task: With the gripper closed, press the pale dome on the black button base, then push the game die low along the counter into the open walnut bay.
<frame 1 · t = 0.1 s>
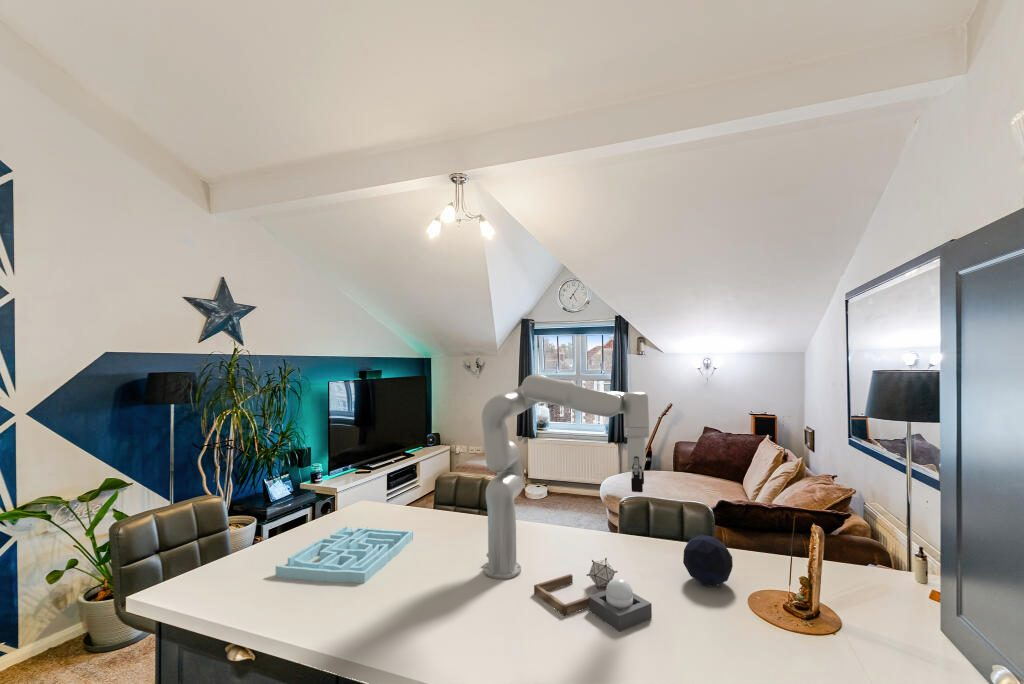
hand: (638, 487, 142), 31 cm above the counter, tool pointing down, fingers open, 9 cm apart
decorative orb: (708, 583, 146), on the counter
walnut bay: (569, 597, 137), on the counter
dome base: (619, 614, 128), on the counter
dome: (619, 592, 128), point 6 cm above the counter, slide at 0.0 cm
maze: (350, 557, 169), on the counter
game die: (602, 587, 144), on the counter
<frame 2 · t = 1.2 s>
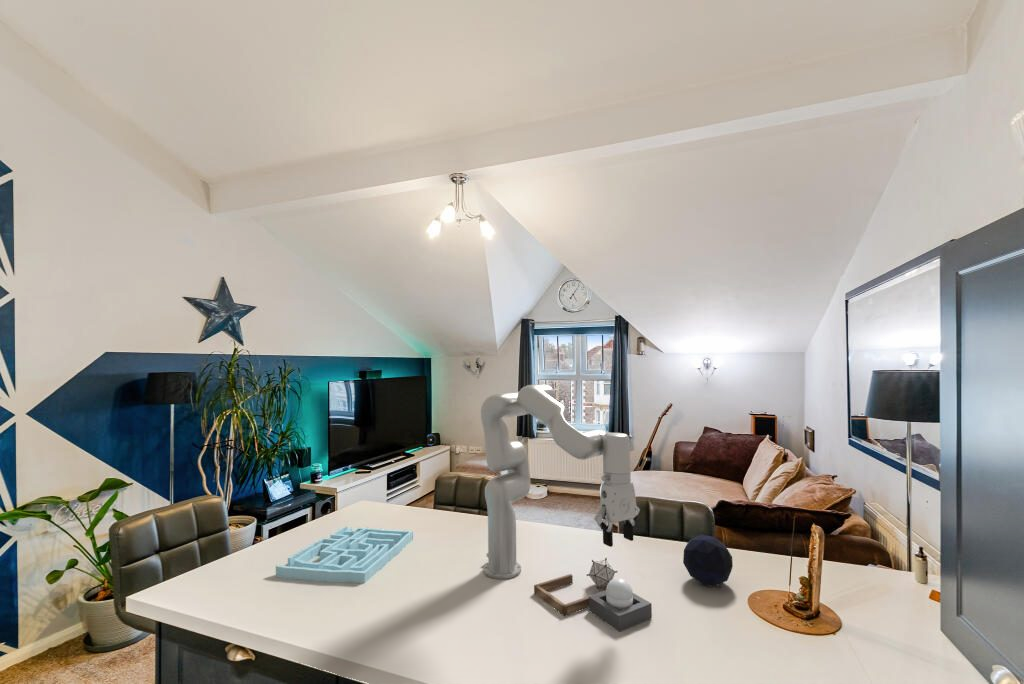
hand: (618, 541, 129), 20 cm above the counter, tool pointing down, fingers open, 7 cm apart
nothing on the counter moved.
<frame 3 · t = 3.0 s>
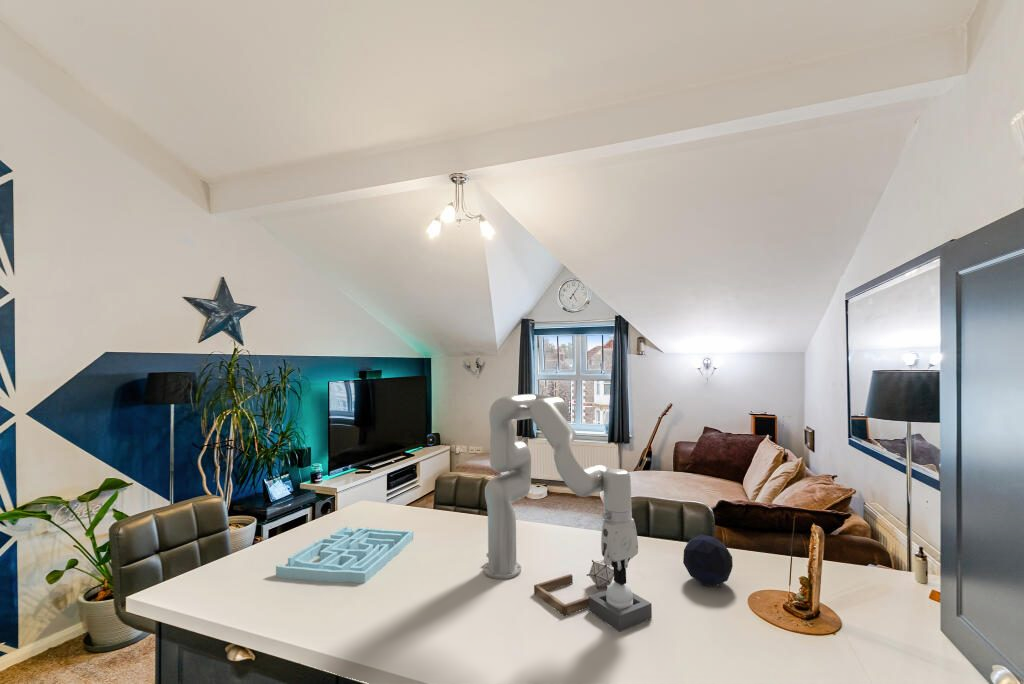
hand: (620, 582, 128), 9 cm above the counter, tool pointing down, fingers closed
dome: (619, 595, 128), point 5 cm above the counter, slide at 0.8 cm, touching gripper
everything else where it was.
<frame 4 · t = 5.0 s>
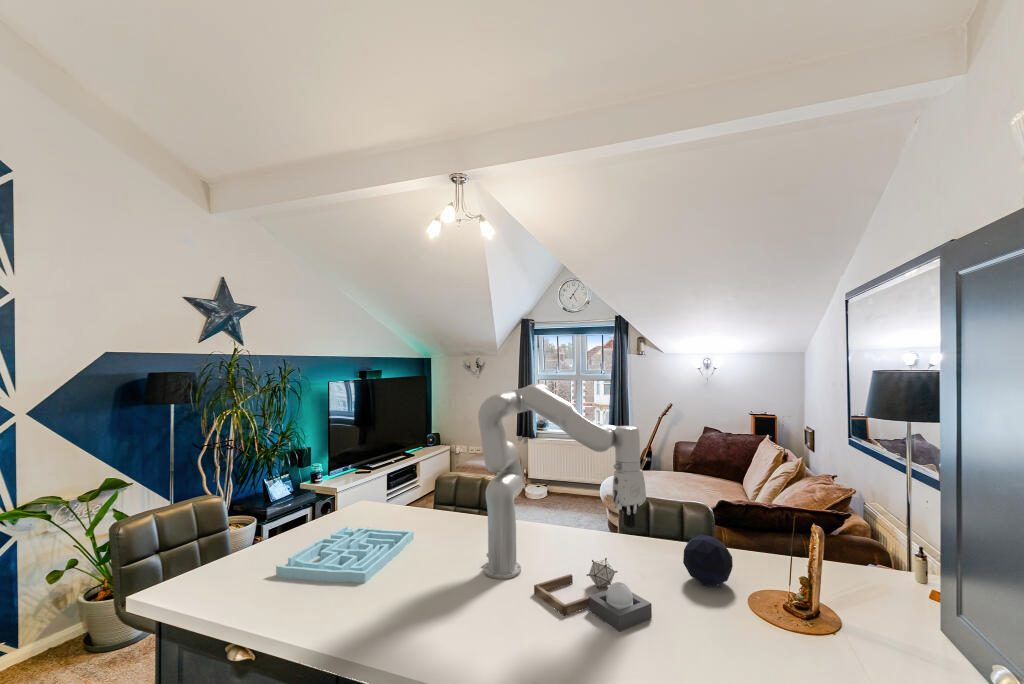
hand: (629, 526, 143), 19 cm above the counter, tool pointing down, fingers closed
dome: (619, 596, 128), point 5 cm above the counter, slide at 1.2 cm
everything else where it was.
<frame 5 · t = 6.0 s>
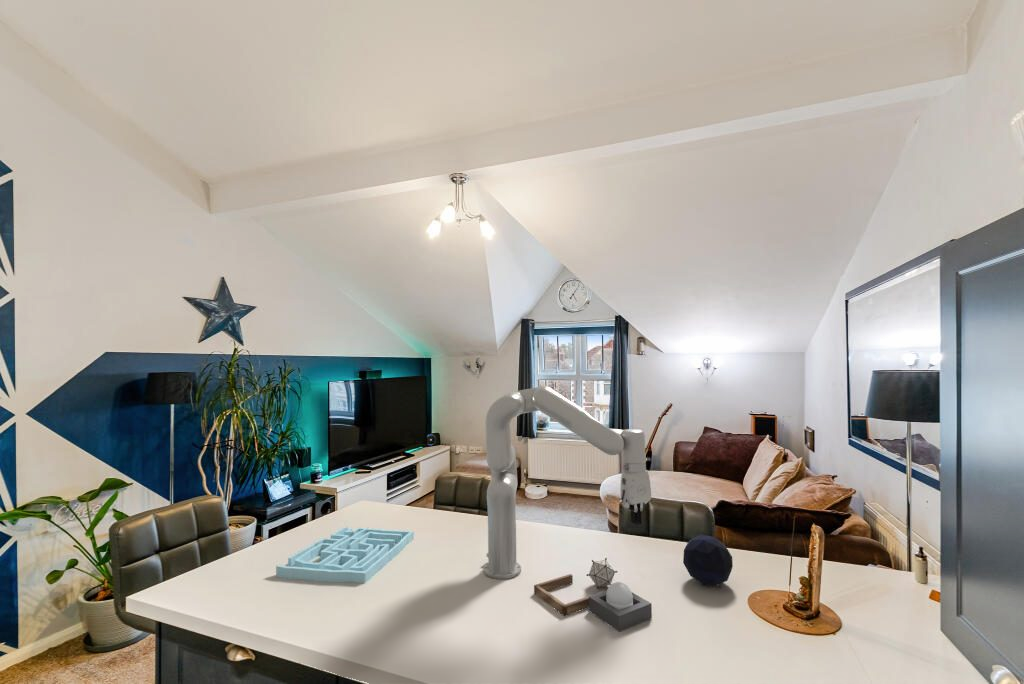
hand: (636, 523, 153), 17 cm above the counter, tool pointing down, fingers closed
nothing on the counter moved.
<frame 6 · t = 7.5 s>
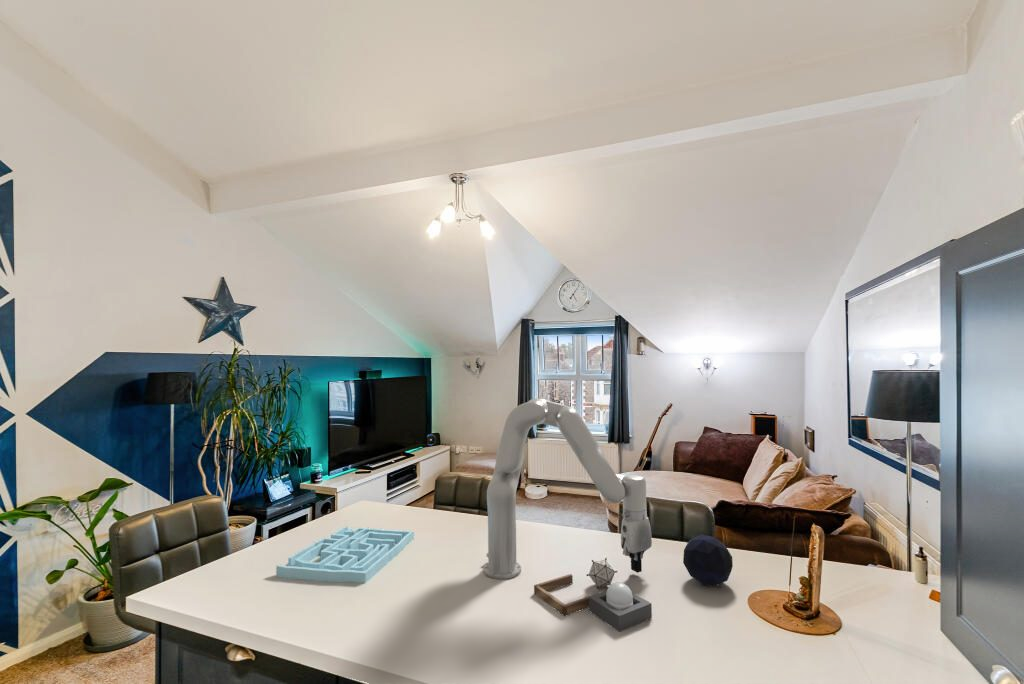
hand: (636, 570, 152), 1 cm above the counter, tool pointing down, fingers closed
nothing on the counter moved.
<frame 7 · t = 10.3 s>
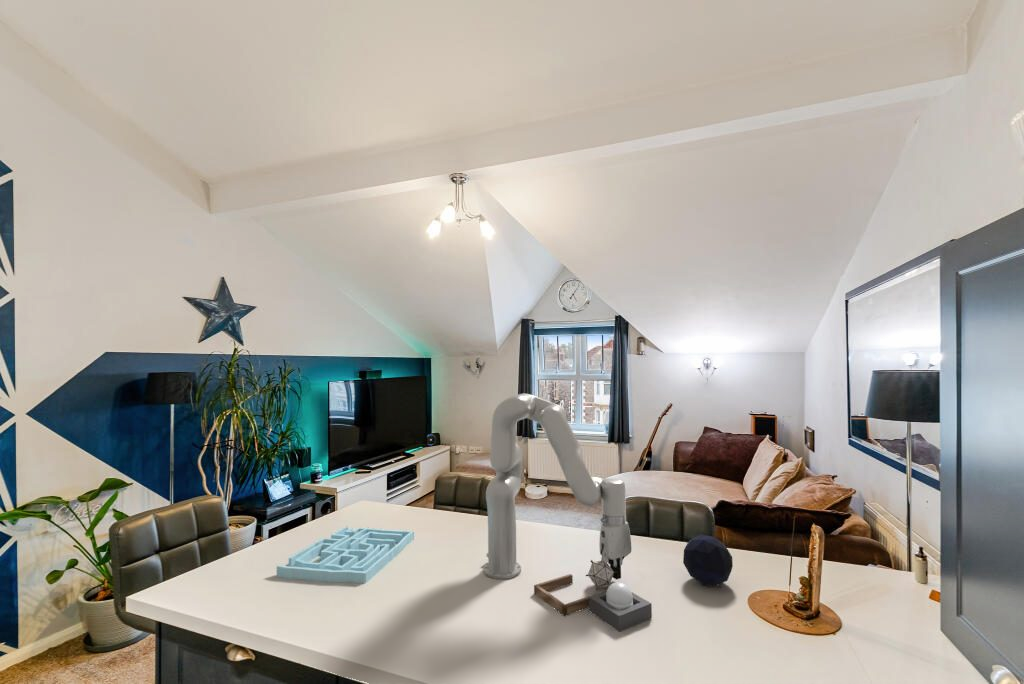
hand: (615, 577, 147), 1 cm above the counter, tool pointing down, fingers closed
game die: (601, 587, 144), on the counter, touching gripper
everything else where it was.
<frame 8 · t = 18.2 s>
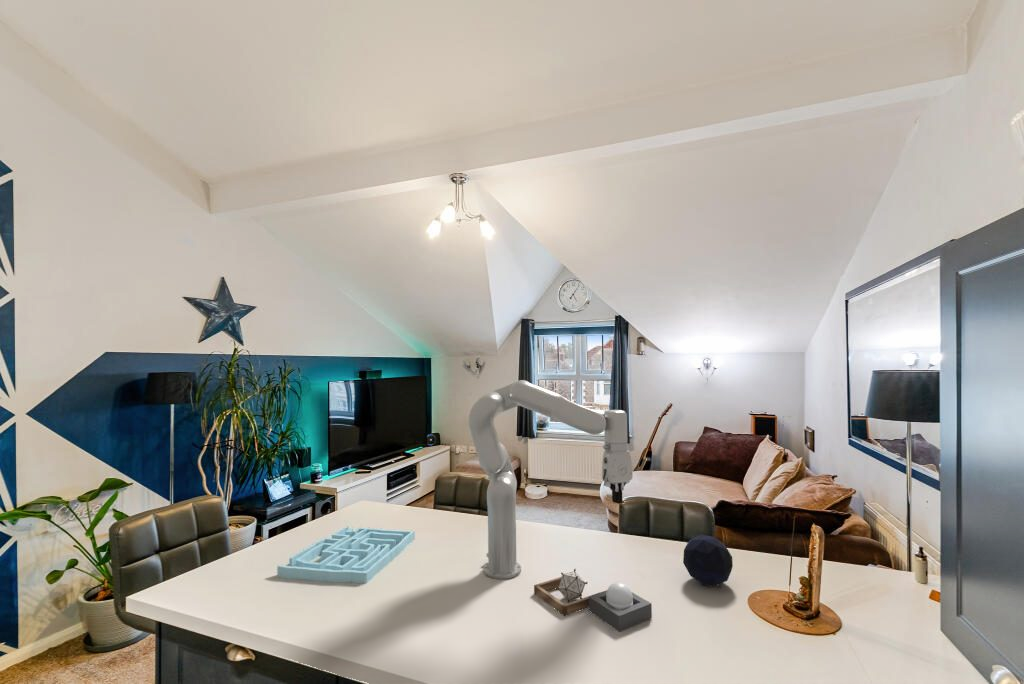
hand: (617, 502, 154), 23 cm above the counter, tool pointing down, fingers closed
game die: (571, 600, 136), on the counter
everything else where it was.
at the end: dome slide at 1.2 cm; game die inside the target area on the walnut bay (1.4 cm from its centre), point 0.0 cm above the walnut bay's base; game die tilted 0° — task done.
